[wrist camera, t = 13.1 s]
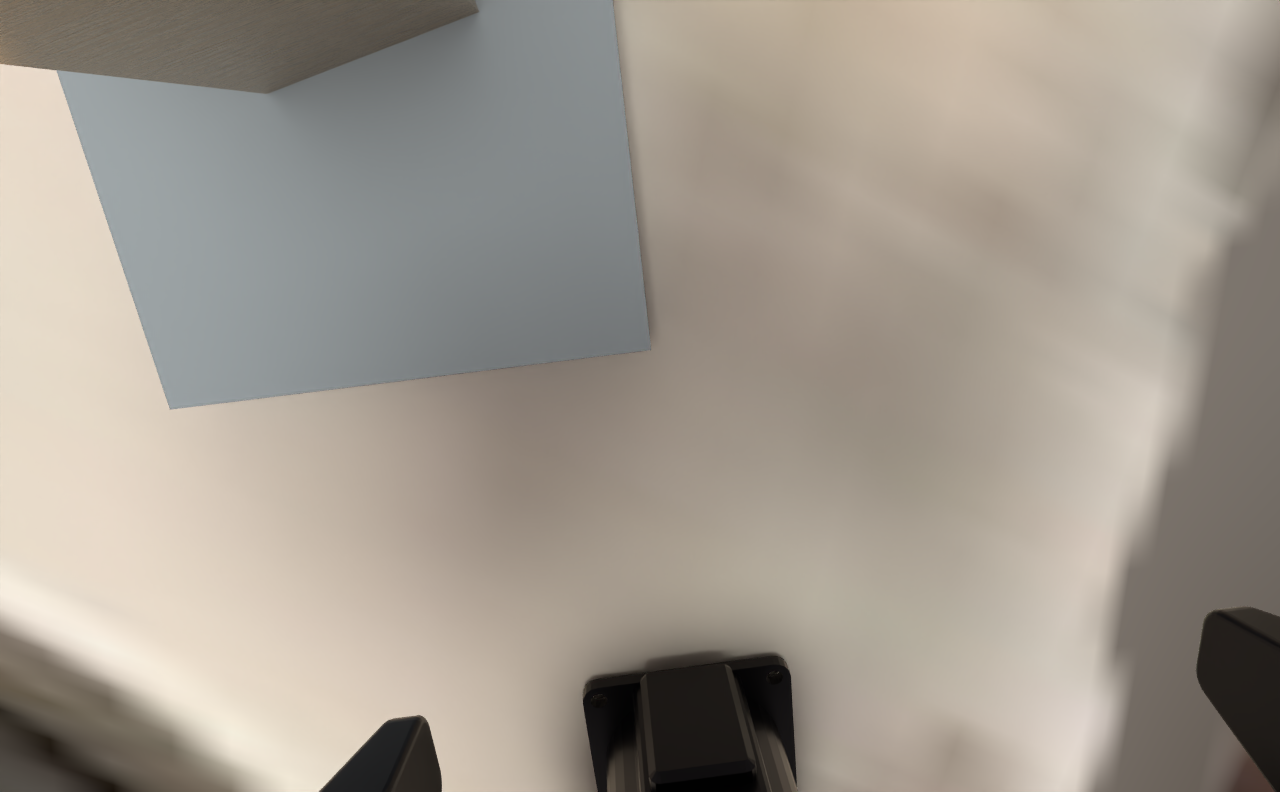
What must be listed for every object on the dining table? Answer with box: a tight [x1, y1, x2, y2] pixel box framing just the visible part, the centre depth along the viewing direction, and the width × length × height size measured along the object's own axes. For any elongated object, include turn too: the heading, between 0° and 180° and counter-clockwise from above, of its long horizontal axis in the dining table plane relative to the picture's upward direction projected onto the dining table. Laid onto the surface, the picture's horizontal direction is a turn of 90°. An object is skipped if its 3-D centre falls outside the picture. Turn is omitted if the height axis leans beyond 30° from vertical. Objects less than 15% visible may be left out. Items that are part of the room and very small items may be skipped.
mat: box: [57, 0, 651, 409], centre depth 18 cm, size 14×12×2 cm
